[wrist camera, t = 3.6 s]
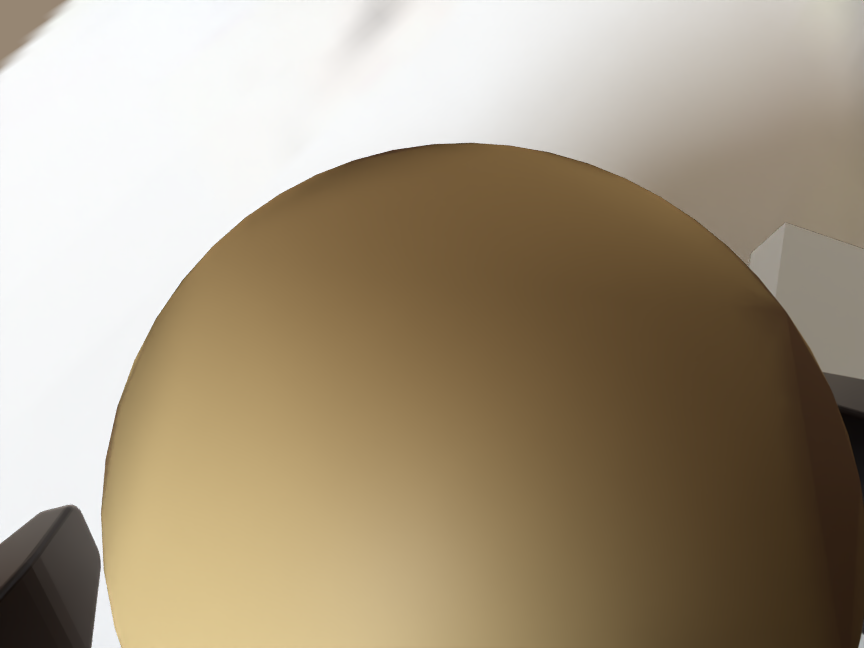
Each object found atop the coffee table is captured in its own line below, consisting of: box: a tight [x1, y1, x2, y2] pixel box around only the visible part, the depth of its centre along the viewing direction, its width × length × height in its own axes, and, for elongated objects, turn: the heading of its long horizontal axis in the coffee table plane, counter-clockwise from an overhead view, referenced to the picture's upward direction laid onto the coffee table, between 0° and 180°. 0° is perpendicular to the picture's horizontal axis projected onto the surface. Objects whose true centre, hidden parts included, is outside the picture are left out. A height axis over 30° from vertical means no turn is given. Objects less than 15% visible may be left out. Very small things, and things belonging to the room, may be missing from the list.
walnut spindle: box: [101, 143, 864, 648], centre depth 9 cm, size 4×4×12 cm
